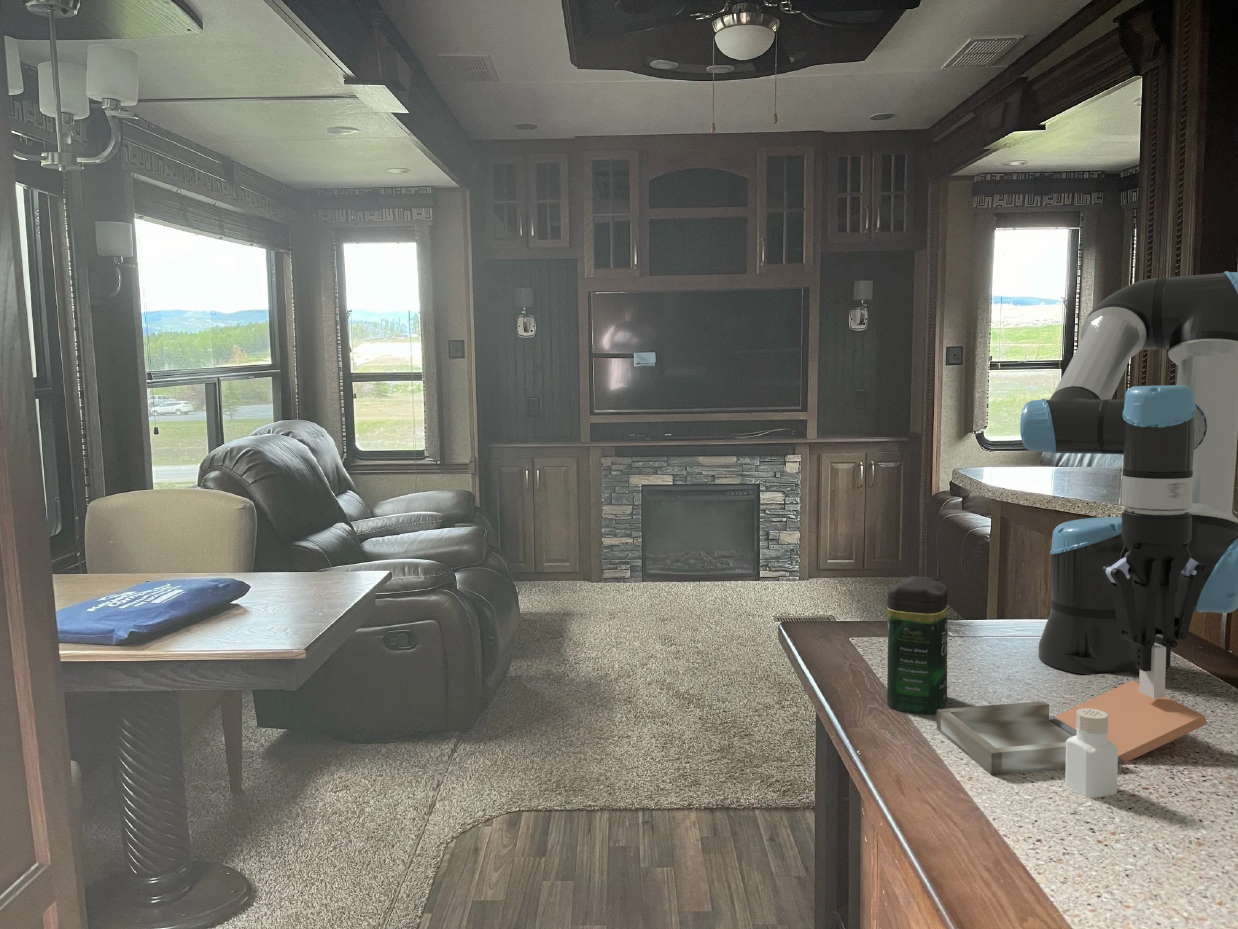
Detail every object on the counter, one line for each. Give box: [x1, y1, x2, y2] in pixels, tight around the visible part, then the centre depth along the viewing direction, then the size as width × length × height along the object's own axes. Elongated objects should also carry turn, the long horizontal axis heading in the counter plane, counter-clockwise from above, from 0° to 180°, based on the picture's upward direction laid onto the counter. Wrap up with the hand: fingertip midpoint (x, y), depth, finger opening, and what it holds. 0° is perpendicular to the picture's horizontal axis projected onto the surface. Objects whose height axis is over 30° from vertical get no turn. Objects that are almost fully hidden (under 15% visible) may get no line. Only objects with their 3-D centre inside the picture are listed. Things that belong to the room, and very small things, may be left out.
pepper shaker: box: [1064, 708, 1119, 799], centre depth 101 cm, size 4×4×10 cm
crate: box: [936, 700, 1073, 776], centre depth 113 cm, size 15×14×4 cm
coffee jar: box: [886, 575, 949, 716], centre depth 129 cm, size 10×8×19 cm
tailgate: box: [1049, 680, 1208, 764], centre depth 115 cm, size 1×13×13 cm
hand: (1151, 694), depth 115 cm, fingers closed
